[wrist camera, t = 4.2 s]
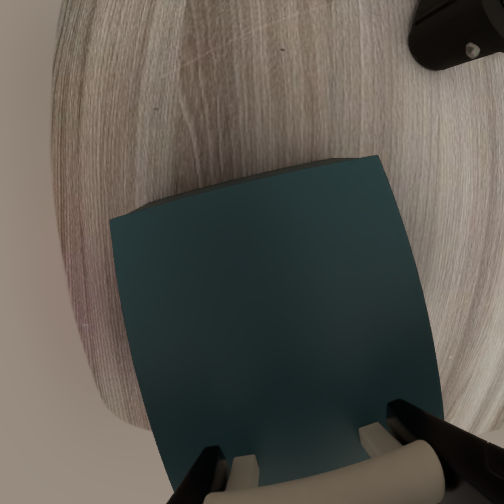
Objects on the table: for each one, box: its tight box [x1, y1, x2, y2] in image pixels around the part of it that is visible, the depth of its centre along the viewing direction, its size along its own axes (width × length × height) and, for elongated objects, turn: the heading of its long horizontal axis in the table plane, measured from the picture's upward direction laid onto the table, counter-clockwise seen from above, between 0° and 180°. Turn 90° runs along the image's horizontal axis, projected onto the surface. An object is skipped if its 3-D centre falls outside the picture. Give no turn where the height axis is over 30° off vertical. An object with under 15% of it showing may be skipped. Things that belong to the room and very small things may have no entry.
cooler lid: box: [110, 155, 445, 504], centre depth 7 cm, size 11×10×5 cm
